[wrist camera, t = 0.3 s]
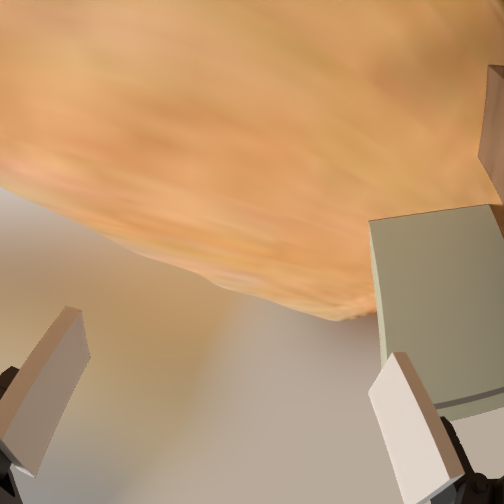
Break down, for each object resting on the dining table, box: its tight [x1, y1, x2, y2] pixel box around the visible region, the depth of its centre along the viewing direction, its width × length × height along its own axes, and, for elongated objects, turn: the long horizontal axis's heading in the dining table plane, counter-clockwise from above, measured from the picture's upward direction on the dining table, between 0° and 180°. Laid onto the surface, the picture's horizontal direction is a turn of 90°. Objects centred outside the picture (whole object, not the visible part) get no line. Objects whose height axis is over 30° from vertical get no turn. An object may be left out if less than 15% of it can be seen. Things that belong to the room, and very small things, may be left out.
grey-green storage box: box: [369, 204, 504, 421], centre depth 25 cm, size 14×9×20 cm, turn 110°
